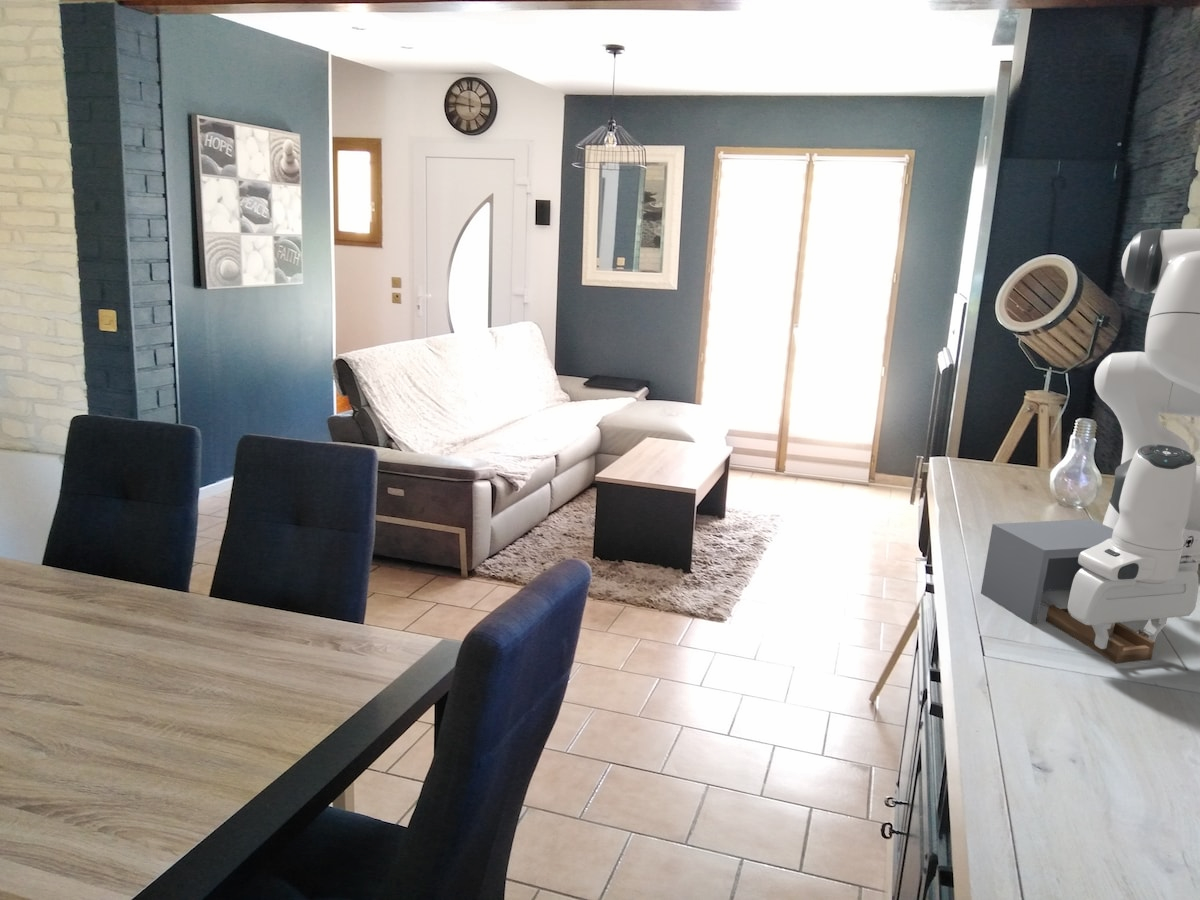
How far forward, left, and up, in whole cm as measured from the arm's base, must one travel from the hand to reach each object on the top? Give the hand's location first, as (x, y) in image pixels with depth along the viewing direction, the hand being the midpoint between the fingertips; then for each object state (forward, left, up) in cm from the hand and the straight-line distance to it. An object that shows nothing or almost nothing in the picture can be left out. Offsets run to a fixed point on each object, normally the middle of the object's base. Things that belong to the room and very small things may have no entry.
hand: (1124, 644), depth 133 cm
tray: (0, -5, -2) cm, 5 cm away
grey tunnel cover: (-3, -17, -2) cm, 18 cm away
